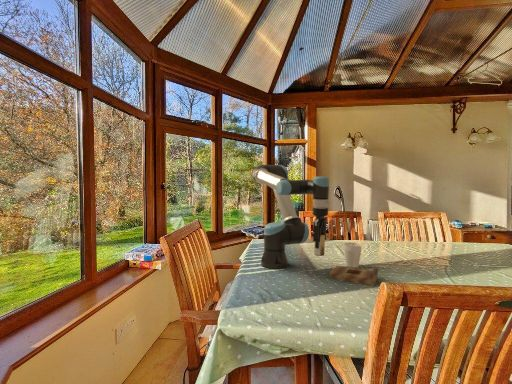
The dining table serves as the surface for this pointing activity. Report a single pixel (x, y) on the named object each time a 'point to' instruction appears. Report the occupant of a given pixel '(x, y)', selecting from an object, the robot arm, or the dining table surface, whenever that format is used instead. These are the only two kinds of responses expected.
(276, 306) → the dining table surface
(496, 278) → the dining table surface
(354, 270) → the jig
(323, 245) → the golden brass cylinder
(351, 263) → the cup
